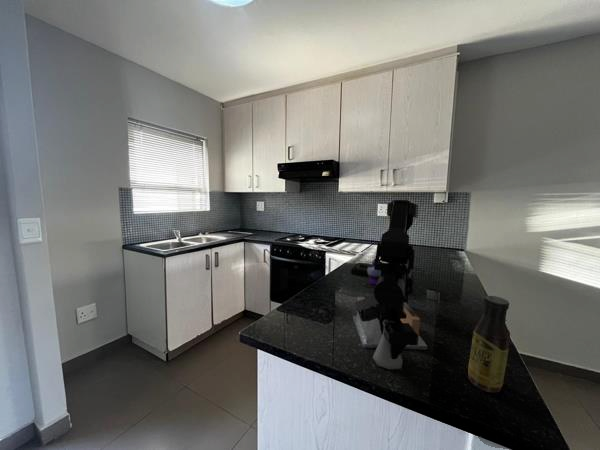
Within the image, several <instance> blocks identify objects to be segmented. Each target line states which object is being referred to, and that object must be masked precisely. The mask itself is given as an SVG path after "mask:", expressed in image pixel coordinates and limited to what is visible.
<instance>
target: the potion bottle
mask: <svg viewBox="0 0 600 450" xmlns="http://www.w3.org/2000/svg"><path fill="white" fill-rule="evenodd" d="M379 263H383V262H382V261H380V258H379ZM379 263H378V265H379ZM371 264H372V265H375V258H373V260H372V261H371ZM367 272H368V276H369V277H368V279H369V284H370V285H371V286H373V287H376V284H377V282H378V280H379V277H380V273H381V270H374V267H369V268H368V269H367Z"/></svg>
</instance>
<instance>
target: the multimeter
mask: <svg viewBox="0 0 600 450" xmlns="http://www.w3.org/2000/svg"><path fill="white" fill-rule="evenodd" d="M369 267H374V265H373V264H372V263H362V262H358V263H356V264H355V265H354V266H353V267H352V268H350V275H352V276H358V277H364V278H369V276H368V272H367V269H368V268H369Z"/></svg>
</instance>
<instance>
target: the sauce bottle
mask: <svg viewBox="0 0 600 450" xmlns="http://www.w3.org/2000/svg"><path fill="white" fill-rule="evenodd" d="M483 304H484V307H483V313H482V316H481V317H480V319H479V320H478V323H477V324H476V326H475V327H474V329H473V332H472V338H471V339H472V340H471V347H470V354H469V360H468V367H467V376H468V379H469V381H470V383H471V385H474V386H475V387H477V388H478V389H480V390H481V391H483V392H486V393H491V394H495V393H499V392H500V391H501V390H502V387H503V385H504V380H505V379H504V378H505V374H506V369H507V361H508V356H509V349H510V340H511V332H510V330H509V329H508V326H507V324H506V321H507V318H506V317H507V311H508V310H509V308H510V307H509V306H510V302H509V301H508V300H507V299H505V298H503V297H499V296H496V295H486V296H485V297H484V301H483Z"/></svg>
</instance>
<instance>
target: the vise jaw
mask: <svg viewBox="0 0 600 450" xmlns="http://www.w3.org/2000/svg"><path fill="white" fill-rule="evenodd" d="M404 312H405V313H406V319H401V322H402V323H409V324H410V325H411V326H412V327H413V329H414V330H415V331H416V333H417V334H418V336H420V325H421V323H420V322H421V319H420V317H418V315H417V314H416V311H415V310H414V309H413V308H412V307H411V306H410V305H409V303H408V304H407V303H406V302H404ZM418 340H419V337H418Z"/></svg>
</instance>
